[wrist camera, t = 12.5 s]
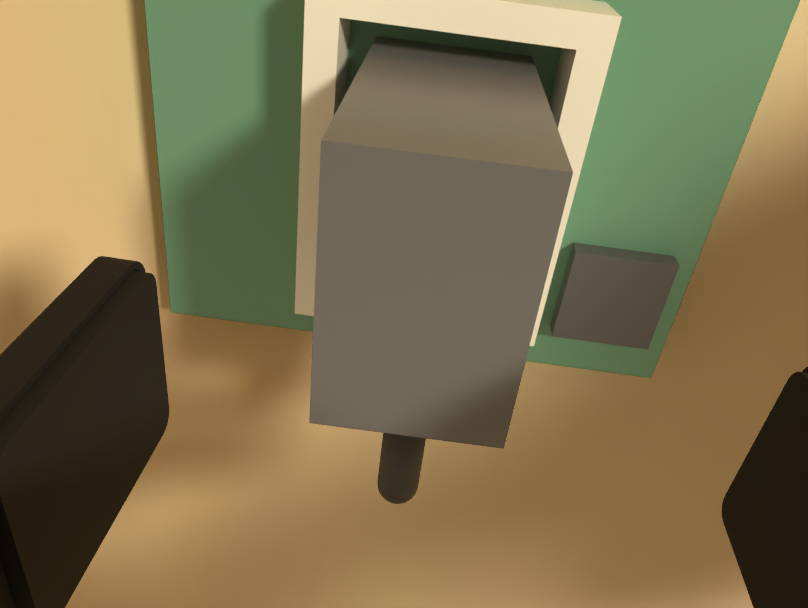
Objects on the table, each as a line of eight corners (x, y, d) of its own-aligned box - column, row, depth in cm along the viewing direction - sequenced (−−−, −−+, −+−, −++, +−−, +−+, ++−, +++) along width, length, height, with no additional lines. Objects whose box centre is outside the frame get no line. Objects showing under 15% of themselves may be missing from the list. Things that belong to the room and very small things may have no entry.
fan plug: (531, 55, 18) (573, 172, 11) (472, 352, 23) (476, 557, 16) (376, 36, 18) (320, 139, 11) (352, 337, 23) (304, 534, 16)
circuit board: (803, -70, 17) (869, -58, 14) (643, 356, 24) (666, 418, 21) (151, -158, 17) (90, -163, 14) (183, 293, 24) (147, 347, 21)
